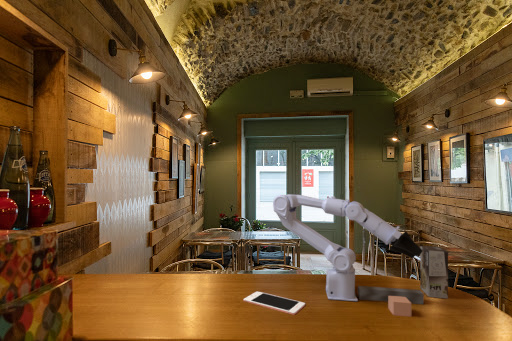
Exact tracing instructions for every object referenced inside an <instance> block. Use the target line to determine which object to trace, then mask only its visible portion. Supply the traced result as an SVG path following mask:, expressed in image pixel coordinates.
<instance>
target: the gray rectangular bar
mask: <svg viewBox="0 0 512 341" xmlns="http://www.w3.org/2000/svg"><path fill="white" fill-rule="evenodd" d="M388 296H400V297H406V298H407V299H408V300H409V301H410V302H411V304H416V305H424V291H423V292H422V290H420V289H410V288H396V287H395V288H394V287H381V286H366V285H365V286H364V285H357V297H358V299H359V300H363V301H377V302H388Z"/></svg>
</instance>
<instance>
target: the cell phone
mask: <svg viewBox="0 0 512 341" xmlns="http://www.w3.org/2000/svg"><path fill="white" fill-rule="evenodd" d="M242 301H243V302H246V303H249V304H252V305H255V306H256V305H257V306H260V307H263V308H268V309H271V310H275V311H278V312H282V313H286V314H289V315H292V316H294V315H297V313H299V312H300V311H301V310H302V309H303V308H304V307H305V306H306V303H305V302H302V301H300V300H299V301H298V300H294V299H290V298H287V297H282V296H278V295H274V294H270V293H266V292H262V291H255V292H253V293H251V294H250V295H248V296H246V297H245V298H243V300H242Z"/></svg>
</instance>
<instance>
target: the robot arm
mask: <svg viewBox="0 0 512 341" xmlns="http://www.w3.org/2000/svg"><path fill="white" fill-rule="evenodd" d="M350 201H351V200H350V199H349V198H348V199H346V200H345V199H340V198H337V197H336V196H334V195H333V196H330V197H326V198H325V199H321V198H316V197H311V196H307V195H302V194H291V193H290V194H278V195H276V196H275V197H274V199H273V201H272V203H273V204H272V207H273V211H274V213H276V216H278V219H279V220H280V222H281V225H282V226H283V227H285V228H286V229H287V230H289V231H290V232H291V233H292V234H294V235H295V236H297V237H299V238H300V239H301V240H303V241H304V242H306V243H307V244H308V245H310V247H311V246H312V247H313V248H314V249H316V250H317V251H319V253H322V254H323V255H324V256H325V258H326V260H327V261H329V262H330V263H331V265H332V266H333V268H327V269H326V276H325V277H326V281H325V293H326V296H327V299H328V300H335V301H348V302H349V301H350V302H358V301H359V300H358V299H359V298H357V297H358V296H357V295H356V291H355V290H356V288H355V287H356V269H355V268H354V265H353V264H355V263H356V259H357V257H356V253H355V252H354V251H353V250H352V249H351V248H348V247H343V246H342V245H340V244H337V243H335V242H333V241H331V240H329V239H328V238H326V237H325V236H324V235H322V234H320V233H319V232H318V231H316V230H315V229H313V228H312V227H310V226H309V225H307V224H305V223H304V222H302V221H301V220H299V219H298V217H297V207H300V206H304V207H310V208H315V209H316V208H317V209H321V210H323V212H324V213H325V214H328V215H334V216H338V217H347V219H348V220H350V221H355V222H356V223H357V224H359V225H360V226H361V227H362V228H364V229H365V230H366V231H368V232H369V233H370V234H372V235H373V236H374V237H376V238H377V239H379V240H380V241H382V242H383V243H384V244H385V245H386V246H387V245H391V246H390V248H389V250H391V251H394V252H398V253H401V254H402V255H405V256H407V257H409V258H412V259H414V258H415V257H420V254H421V253H422V249H421V248H420V246H419V245H418V244H417V243H416V242H415V241H414V240H413V239H412V238H411V236H410V235H409V232H407V231H406V230H405V231H403V233H402V232H400V231H399V229H401V227H400V225H397V226H396V228H395V227H394V226H392V225H391V224H390V223H388V222H387V221H386V220H384V219H382V218H381V217H379V216H378V215H376V214H375V213H374V212H373V211H370V210H369V209H368V208H365V207H364V206H363V204H362V203H360V202H359V201H356V200H353V201H351V202H350Z"/></svg>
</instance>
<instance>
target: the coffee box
mask: <svg viewBox="0 0 512 341" xmlns="http://www.w3.org/2000/svg"><path fill="white" fill-rule="evenodd" d="M419 247H420V248H421V249H422V253H421V254H420V256H419V257H420V259H419V260H420V263H419V264H420V265H419V266H420V267H419V268H420V269H419V270H420V279H419V282H420V285H419V287H420V289H421V291H423V293H424V294H425V295H426V296H428V297H430V298H439V299H449V250H446V249H443V248H441V247H440V246H433V245H420V246H419Z"/></svg>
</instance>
